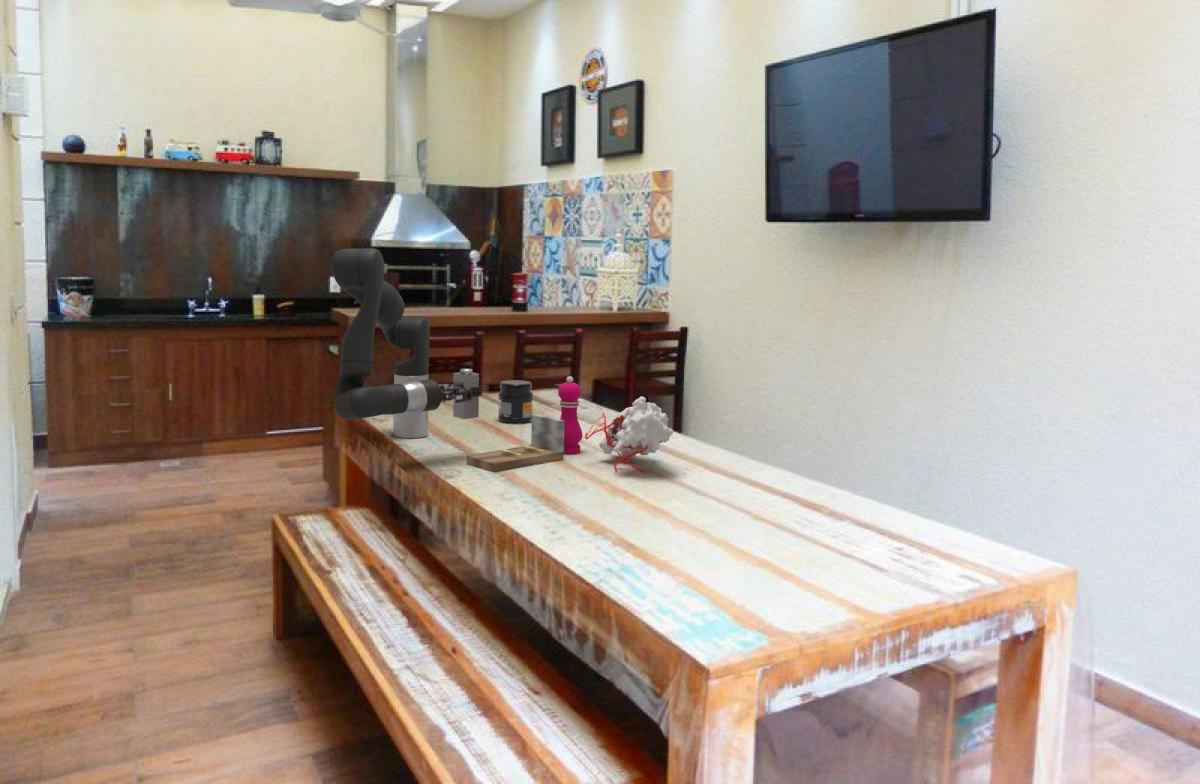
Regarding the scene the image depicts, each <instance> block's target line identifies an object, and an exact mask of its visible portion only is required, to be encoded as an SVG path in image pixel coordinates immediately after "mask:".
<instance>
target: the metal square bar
mask: <svg viewBox="0 0 1200 784" xmlns="http://www.w3.org/2000/svg"><path fill="white" fill-rule="evenodd" d="M452 378H453V380H452V381H453V384H452V385H453V386H454V387H461V388H476V387H480V373H476V372H473V369H472V368H460V369H459V372H453V377H452ZM456 392H457V390H456ZM479 398H480V396H478V397H472V400H468V401H464V402H459V403H456V402H455V401H452V404H453V406H452V410H453V411H452V413H453V415H452V416H453V417H454V418H458V419H461V420H469V419H475V418H476V419H477V418H479V413H480V412H479V402H480V401H479Z"/></svg>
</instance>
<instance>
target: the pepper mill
mask: <svg viewBox="0 0 1200 784" xmlns="http://www.w3.org/2000/svg"><path fill="white" fill-rule="evenodd" d="M581 389H582V388H581V387H580V385H579V384H578V383H576V382H574V378H573V376H567V377H566V382H563V383H561V384H560V386H559V387H558V390H557V394H558V397H559V398H560V400H559V407H560V408H561V409H560V410H561V412H560V413H561V414H560V418H559V419H560V420H564V455H574V454H575V455H576V454H579V453H581V445H580V442H581V440H583V431H582V427H581V425H580V422H579V419H578V407H579V406H580V404H579V403H580V401H579V399H580V397H581V396H582V390H581Z"/></svg>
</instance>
